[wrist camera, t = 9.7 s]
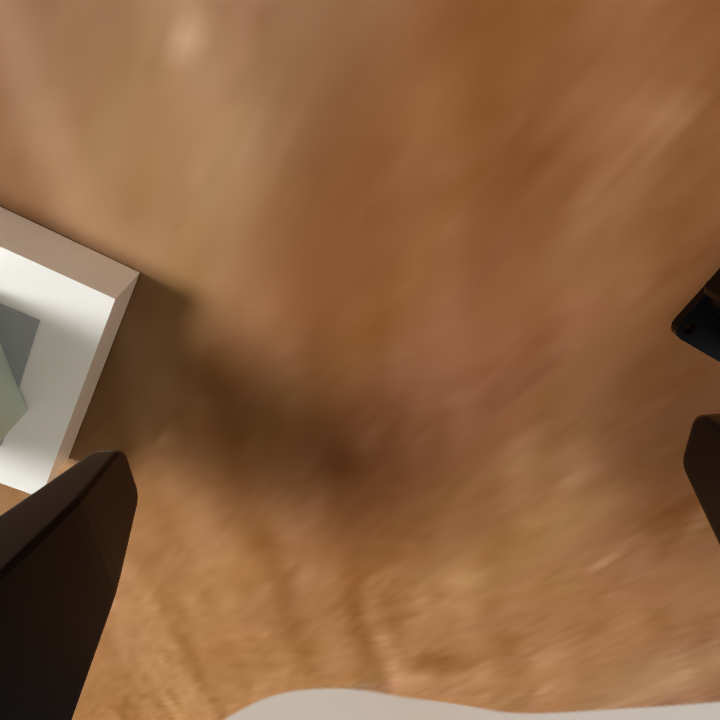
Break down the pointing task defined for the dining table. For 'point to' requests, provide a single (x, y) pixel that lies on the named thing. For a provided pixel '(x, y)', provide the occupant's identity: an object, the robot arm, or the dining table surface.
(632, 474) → the dining table surface
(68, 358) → the slab
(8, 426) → the pillar
